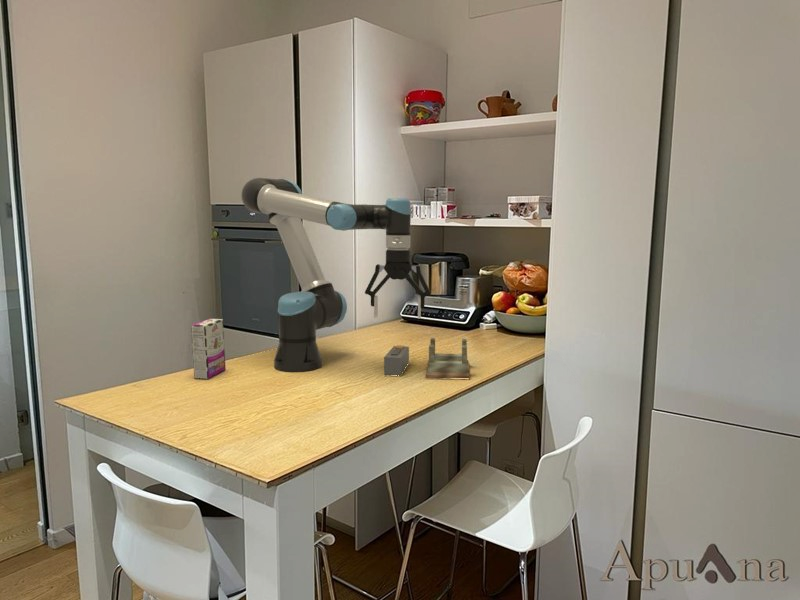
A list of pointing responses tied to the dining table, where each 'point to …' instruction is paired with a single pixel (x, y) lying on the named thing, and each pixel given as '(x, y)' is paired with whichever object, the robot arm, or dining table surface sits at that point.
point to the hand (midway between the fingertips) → (397, 317)
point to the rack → (447, 363)
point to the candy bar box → (208, 348)
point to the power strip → (396, 360)
